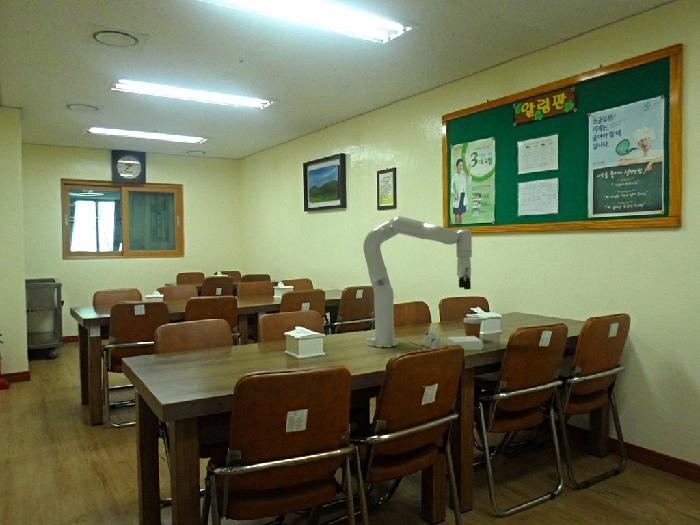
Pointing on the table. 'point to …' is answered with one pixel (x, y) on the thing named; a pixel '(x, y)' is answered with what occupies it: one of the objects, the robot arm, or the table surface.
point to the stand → (466, 342)
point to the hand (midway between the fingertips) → (464, 288)
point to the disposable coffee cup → (472, 326)
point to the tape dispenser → (432, 340)
